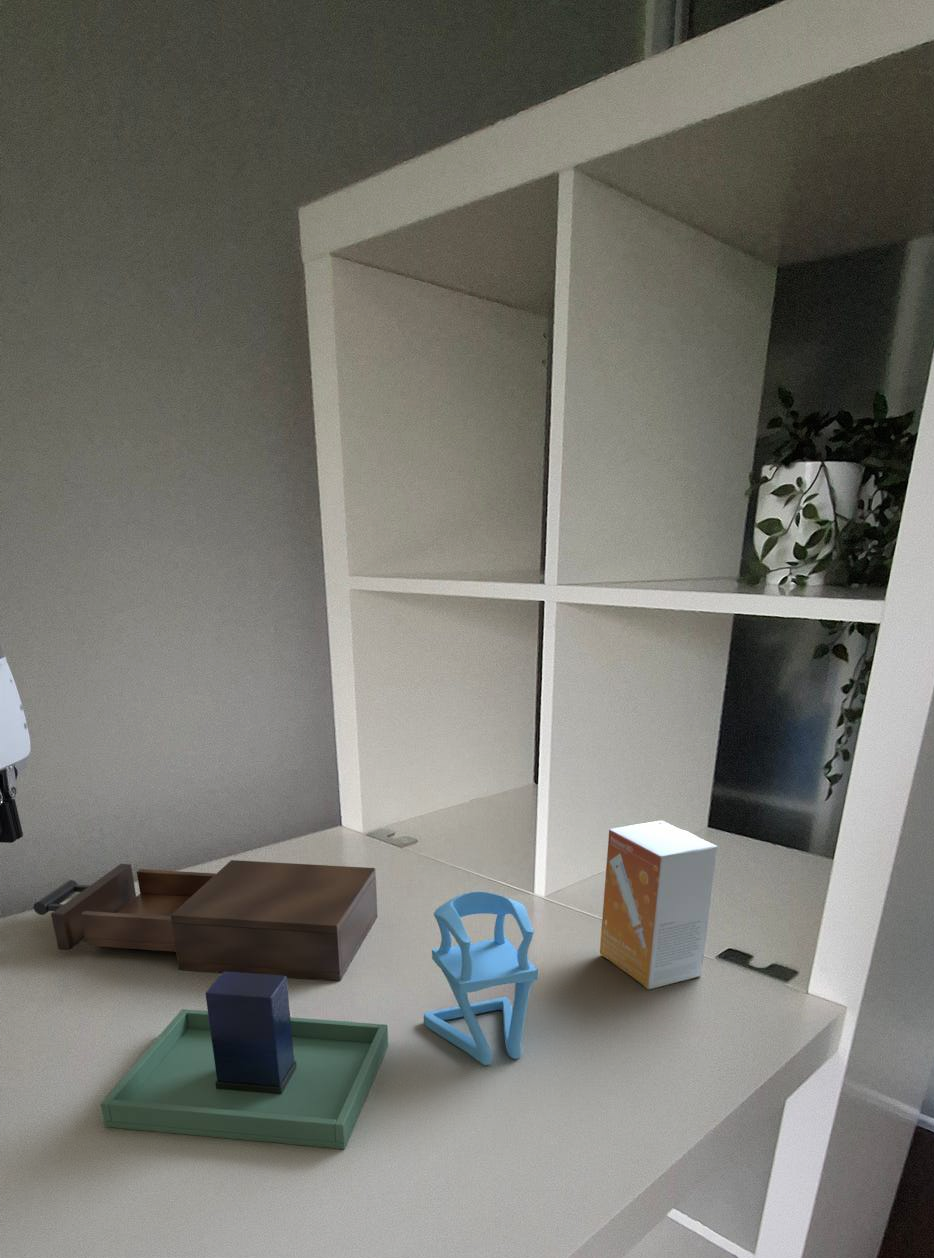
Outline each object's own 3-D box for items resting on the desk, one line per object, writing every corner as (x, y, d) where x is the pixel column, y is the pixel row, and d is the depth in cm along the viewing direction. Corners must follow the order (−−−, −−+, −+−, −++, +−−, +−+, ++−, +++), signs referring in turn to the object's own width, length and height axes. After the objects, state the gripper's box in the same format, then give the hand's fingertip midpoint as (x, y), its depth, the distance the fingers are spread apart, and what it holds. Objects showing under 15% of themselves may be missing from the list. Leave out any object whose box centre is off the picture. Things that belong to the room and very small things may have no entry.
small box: (597, 955, 88) (606, 827, 83) (651, 943, 91) (663, 818, 85) (647, 991, 82) (661, 855, 76) (703, 977, 84) (720, 844, 79)
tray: (104, 1127, 63) (99, 1103, 62) (185, 1029, 75) (182, 1008, 74) (344, 1149, 61) (343, 1125, 60) (388, 1045, 73) (387, 1024, 72)
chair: (457, 1073, 69) (456, 931, 64) (422, 1021, 76) (419, 890, 71) (547, 1053, 72) (553, 915, 67) (506, 1005, 79) (508, 877, 74)
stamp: (215, 1089, 66) (202, 993, 63) (234, 1062, 70) (222, 970, 66) (281, 1094, 66) (271, 998, 63) (297, 1067, 69) (288, 974, 66)
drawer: (16, 947, 87) (7, 910, 85) (88, 894, 99) (82, 861, 97) (203, 960, 85) (198, 923, 83) (254, 904, 97) (250, 870, 95)
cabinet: (178, 969, 85) (170, 915, 82) (236, 908, 98) (231, 859, 96) (340, 981, 83) (336, 925, 81) (377, 917, 96) (375, 867, 94)
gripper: (-28, 637, 89) (14, 815, 97) (-142, 660, 76) (-83, 865, 84) (42, 638, 88) (79, 817, 96) (-60, 661, 75) (-8, 868, 83)
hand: (4, 839), depth 90 cm, fingers closed
